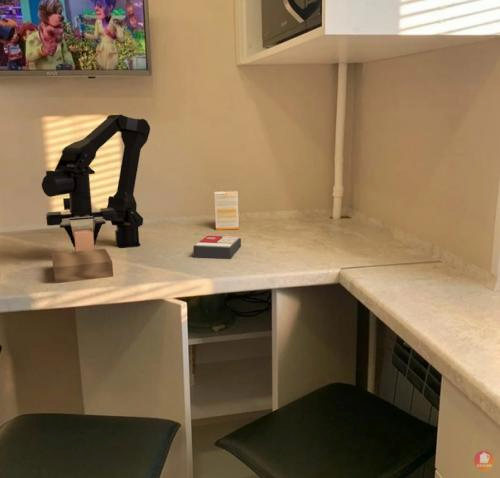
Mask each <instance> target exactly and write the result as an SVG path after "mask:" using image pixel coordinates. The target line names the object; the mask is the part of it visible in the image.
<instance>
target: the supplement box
mask: <svg viewBox="0 0 500 478" xmlns="http://www.w3.org/2000/svg"><path fill="white" fill-rule="evenodd" d="M213 195H214V197H213V198H214V199H213V200H214V220H215V222H214V223H215V230H216V231H222V230H223V231H224V230H225V231H226V230H239V229H240V225H239V223H240V221H239V193H238V190H220V191H219V190H217V191H214V193H213Z"/></svg>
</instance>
